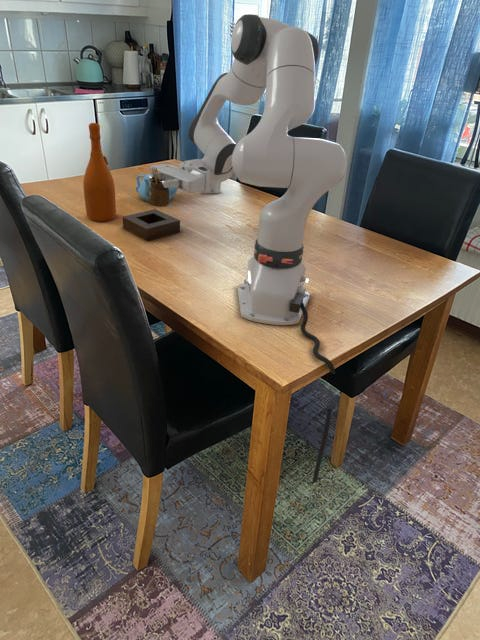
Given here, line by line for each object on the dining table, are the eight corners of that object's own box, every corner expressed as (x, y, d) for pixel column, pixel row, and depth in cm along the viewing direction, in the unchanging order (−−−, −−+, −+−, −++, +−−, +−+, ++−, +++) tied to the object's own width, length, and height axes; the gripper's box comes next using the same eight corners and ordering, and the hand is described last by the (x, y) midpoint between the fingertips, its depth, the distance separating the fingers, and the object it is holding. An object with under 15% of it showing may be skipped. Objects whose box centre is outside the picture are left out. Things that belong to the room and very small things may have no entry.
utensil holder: (172, 202, 152) (172, 163, 146) (164, 208, 147) (163, 168, 141) (154, 199, 153) (153, 160, 147) (146, 205, 148) (144, 165, 142)
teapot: (131, 194, 187) (130, 167, 182) (167, 190, 194) (167, 164, 188) (145, 206, 177) (144, 178, 171) (183, 202, 183) (183, 175, 178)
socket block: (180, 232, 159) (180, 220, 156) (147, 241, 150) (147, 229, 148) (155, 220, 166) (155, 208, 164) (123, 228, 158) (122, 216, 156)
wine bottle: (119, 221, 162) (113, 126, 147) (88, 223, 159) (79, 126, 143) (114, 211, 170) (107, 120, 154) (84, 213, 167) (75, 120, 151)
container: (197, 187, 200) (198, 155, 193) (215, 187, 202) (217, 155, 195) (201, 193, 194) (202, 160, 187) (220, 193, 196) (222, 160, 189)
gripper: (170, 157, 159) (135, 163, 150) (213, 172, 147) (177, 179, 138) (170, 176, 162) (136, 183, 153) (212, 193, 150) (177, 201, 142)
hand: (156, 181), depth 146 cm, fingers closed on utensil holder, 5 cm apart
